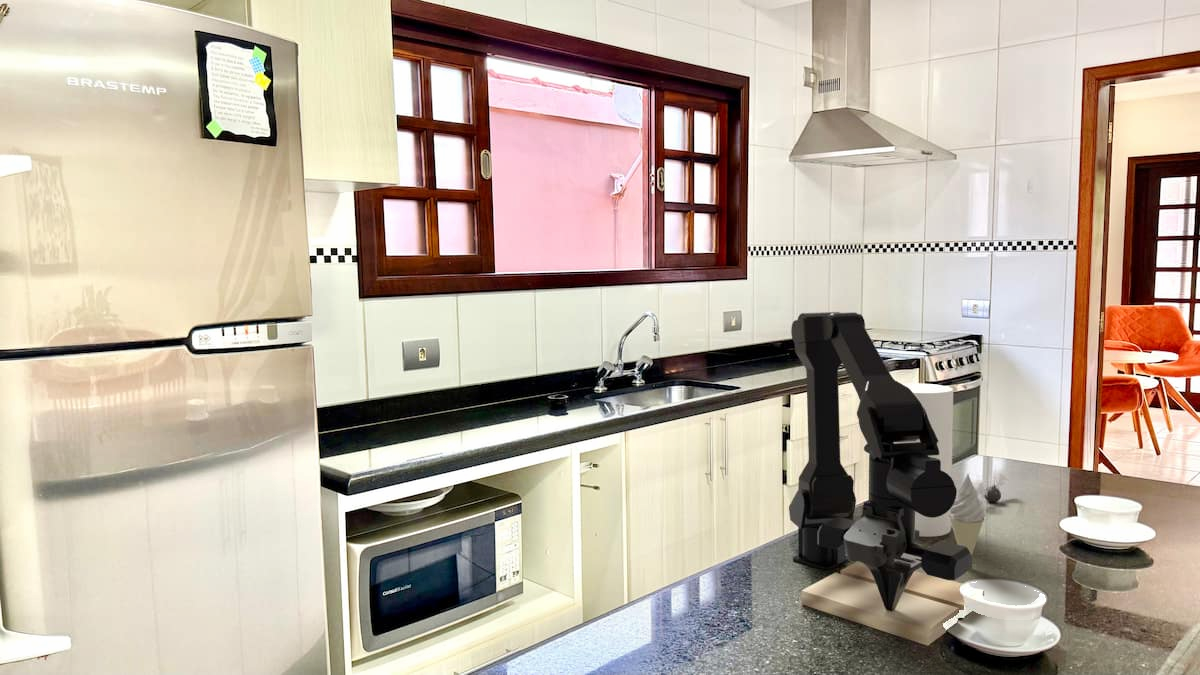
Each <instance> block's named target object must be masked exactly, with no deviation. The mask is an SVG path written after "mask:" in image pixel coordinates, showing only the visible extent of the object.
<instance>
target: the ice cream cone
mask: <svg viewBox="0 0 1200 675" xmlns="http://www.w3.org/2000/svg"><path fill="white" fill-rule="evenodd" d="M975 489H976V488H975V486H974V484H973V482H972V479H971V477H970V475H969V473H966V477H965V479H964V481H963V484H962V486H961V487H960V488H959V489H958V490H957V492H958V494H957V495H956V499H955V502H954V504H953V506H952V507H951V510H950V513H951V514H950V515H949V518H950V520H951V529H952V531H953V534H954V538H955V541H956V545H960V546H965V547H967V548H968V550H969V552H970V553H971V555H972V556H973V553H974V550H975V547H976V544H977V541H978V538H979V535H980V532H981V529H982V526H983V524H984V523H983V522H984V521H985V518H986V513H985V510H986V508H985V504H984V503H983V501H981V499H979V497H978V496H977V491H976V490H975Z"/></svg>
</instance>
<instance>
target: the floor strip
mask: <svg viewBox="0 0 1200 675" xmlns="http://www.w3.org/2000/svg"><path fill="white" fill-rule="evenodd" d="M840 574H842V575H846V576H849V577H853V578H856V579H860V580H863V581H867V582H870V583H874V584H876V582H875V579H874V577H873V575H872V573H871V571H870V569H869V568H868V567H867V566H865V565H864V564H863V563H862V562H858V561H856V562H854V563H852V564H850V565H848V566H846V567H844V568H843V569H840ZM962 584H963V583H962V582H958V581H955V580H945V579H941V578H938V577H934V576H930V575H927V574H926V573H925V572H921V571H920V572H919V571H917V570H916V571H914V573H913V574H912V576H911V577H910V579H909V581H908V583H907V585H906V587H905V589H904V591H903V592H905V593H908V594H912V595H915V596H919V597H922V598H926V599H929V600H933V601H936V602H940V603H943V604H947V605H950V606H954V607H957V608H959V610H964V601H963V598H962V596H961V594H960V591H959V587H960V586H961V585H962Z"/></svg>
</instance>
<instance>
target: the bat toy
mask: <svg viewBox="0 0 1200 675" xmlns="http://www.w3.org/2000/svg"><path fill="white" fill-rule="evenodd" d="M1005 481H1009V479H1008V477H1007V476H1006V475H1004V474H999V475H998V480H997V482H996V484H995V483H994V484H993V485H991V486H989V487H987V488H984V485H983V482H982V481H981V482H980V483H979V484H977V486H976V488H975V490H976V491H977V497H978V496H979V495H981V499H982V500H984V499H985V500H986V501H987V502H989V503H992V504H993V503H997V502H999V501H1000V500H1001V498H1002V493H1001V491H1000V487H1001V486H1003V487H1005Z"/></svg>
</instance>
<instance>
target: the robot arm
mask: <svg viewBox="0 0 1200 675" xmlns="http://www.w3.org/2000/svg"><path fill="white" fill-rule="evenodd" d="M790 329H791V330H790V332H791V339H792V341H793V343H794V352H795V354H796V356H797V357H798V359H799V360H800V362H801V363H802V365H803V367H804V369H805V372H806V403H807V404H806V407H807V409H806V410H807V442H808V443H807V444H808V461H807V462H806V465H805V466H804V468H803V470H802V471H801V473H800V475H799V476H798V486H797V488H798V490H797V491H796V493H795V495H794V497H793V498H792V500H791V502H790V504H789V506H788V511H789V513H788V514H789V520H790V521H791V522H792V523H793V524H794V525H795V526H797V527H798V530H797V531H798V532H797V533H798V534H797V536H798V537H797V539H798V540H797V550H798V552H797V554H796V555H794V556H793V557H792V561H794V562H797V563H799V564H800V563H801V564H804V565H807V566H812V567H814V568H818V569H822V570H825V571H829V570H831V569H833V568H836V567H837V566H839V565H841V564H843V563H845V562H846V561H848V560H849V561H850V562H854V563H855V562H857V561H858V562H862V563H863V564H864V565H865V566H867V567H868V568H869V569H870V571H871V573H872V575H873V577H874V579H875V582H876V584H877V587H878V590H879V593H880V595H881V598H882V601H883V604H884V607H885V609H886V610H889V611H893V610H894V609H895V608H896V606H897V604H898V602H899V600H900V597H901V595H902V593H903V591H904V589H905V587H906V585H907V583H908V581H909V579H910V577H911V576H912V574H913V573H914V571H916V572H917V571H918V570H919V569H922V570H923V572H924V574H927V575H930V576H934V577H938V578H941V579H945V580H950V581H956V580H957V579H958V578H960V577H962V576H963V575H964V574H966V573H968V572H969V571H971V570H972V569H973V554H972V555H971V553H970V552H969V550H968V548H967V547H965V546H960V545H957V543H956V544H955V543H951V542H946V541H944V540H943V541H942V540H939V541H937V542H935V543H934V544H932V545H930V546H925V545H921V544H918V543H915V542H916V541H917V540H918V539H920V536H919V531H918V530H915V511H916V512H918V513H919V514H921V515H923V516H925V517H931V518H934V517H938V516H941V515H943V514H945V513H946V512H948V511H949V510H950V509H951V508H952V506H953V504H954V502H955V499H956V497H957V495H958V494H957V493H958V490H957V487H956V485H955V482H954V480H953V477H952V478H951V477H950V476H949V475H948V474H947V473H945V472H943V471H941V461H940V460H939V459H937V458H931V457H928V456H933V455H939V449H938V446H937V443H938V439H937V437H936V435H935V433H934V430H933V428H932V426H931V424H930V422H929V419H928V416H927V413H926V411H925V409H924V408H923V406H922V404H921V403H920V401H919V400H918V399H917V397H916V396H915V395H914V394H913V392H912V391H911V390H910V389H909V388H908V387H906V386H904V385H903V384H904V383H901V382H899V381H897V380H895V378H893V376H892V375H891V373H890V371H889V370H888V368H887V365H886V364H885V362H884V360H883V359H882V357H881V355H880V353H879V352H878V350H877V348H876V346H875V344H874V342H873V340H872V338H871V337H870V335H869V333H868V331H867V329H866V322H865V319H864V317H863V315H862V314H860V313H858V312H854V311H852V312H840V311H830V312H829V311H828V312H826V311H825V312H802V313H800V314H799V316H798V317H797V319H796V320H793V321H792V324H791V328H790ZM841 366H843V367H844V369H845V371H846V373H847V376H848V377H849V379H850V381H851V383H852V385H853V387H854V389H855V391H856V393H857V397H858V399H859V404H858V408H857V410H856V416H857V420H858V426H859V428H860V431H861V433H862V435H863V438H864V440H865V442H866V444H865V445H864V447H863V451H864V452H866V453H867V454H869V455H868V500H865V501H864V502H863V506H862V509H861V510H862V513H861V516H860V518H859V519H858V520H854V514H855V509H856V503H857V498H856V494H855V492H854V485H855V484H854V483H855V482H854V479H853V477H852V475H849V473H848V472H847V471H846V469H845V468H844V465H843V464H842V463H841V440H840V435H841V433H840V432H841V431H840V428H841V427H840V396H839V394H840V393H839V370H840V367H841ZM918 439H919V440H920V442H914V443H896V444H894V443H893V442H909V441H916V440H918Z"/></svg>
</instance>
